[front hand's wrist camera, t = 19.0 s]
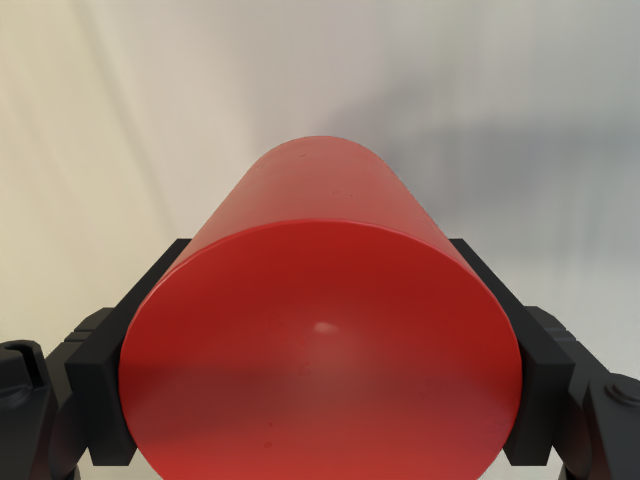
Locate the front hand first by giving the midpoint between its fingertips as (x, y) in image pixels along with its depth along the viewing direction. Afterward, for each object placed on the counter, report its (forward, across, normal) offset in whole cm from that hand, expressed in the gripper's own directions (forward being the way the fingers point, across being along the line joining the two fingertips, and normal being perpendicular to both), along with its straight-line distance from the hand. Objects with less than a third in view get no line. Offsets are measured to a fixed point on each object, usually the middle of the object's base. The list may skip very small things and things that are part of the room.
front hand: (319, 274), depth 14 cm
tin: (+5, 0, 0) cm, 5 cm away
